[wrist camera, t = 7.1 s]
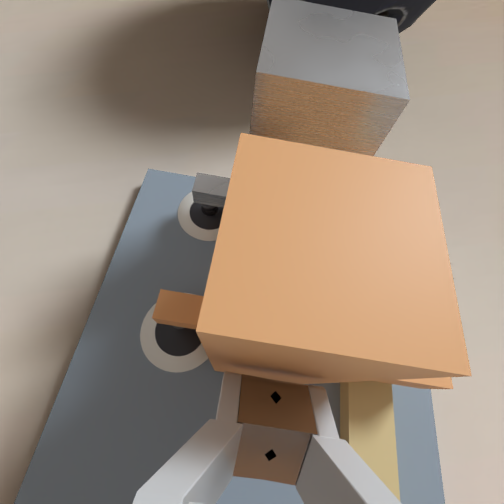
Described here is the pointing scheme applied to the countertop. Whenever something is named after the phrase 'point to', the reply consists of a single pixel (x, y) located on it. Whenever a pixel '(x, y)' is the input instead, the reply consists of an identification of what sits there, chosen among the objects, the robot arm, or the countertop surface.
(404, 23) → the dark rounded piece
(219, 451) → the robot arm
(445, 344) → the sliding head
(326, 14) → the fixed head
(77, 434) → the board
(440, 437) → the countertop surface
